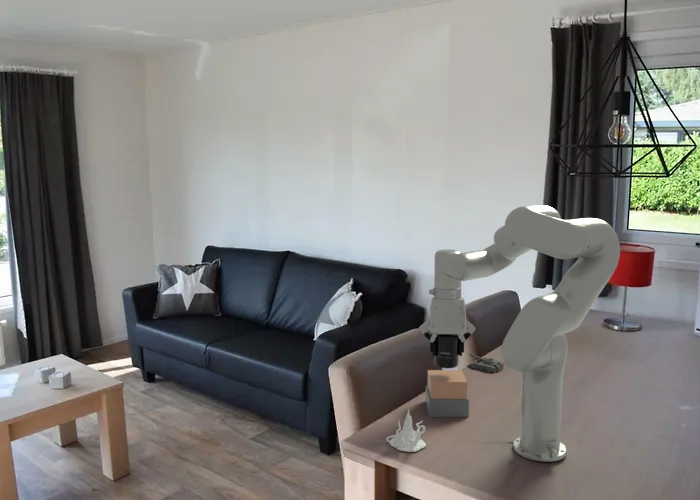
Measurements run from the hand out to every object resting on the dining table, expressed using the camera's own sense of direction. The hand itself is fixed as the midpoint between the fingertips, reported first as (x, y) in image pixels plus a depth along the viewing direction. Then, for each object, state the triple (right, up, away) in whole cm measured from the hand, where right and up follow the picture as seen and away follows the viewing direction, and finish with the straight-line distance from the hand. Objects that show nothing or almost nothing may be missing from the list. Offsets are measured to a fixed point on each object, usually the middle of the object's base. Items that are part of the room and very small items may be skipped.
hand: (446, 354), depth 171 cm
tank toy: (+19, -12, +37) cm, 43 cm away
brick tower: (0, -16, +2) cm, 16 cm away
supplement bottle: (0, -3, +1) cm, 4 cm away
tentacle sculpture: (-13, -20, -19) cm, 31 cm away
